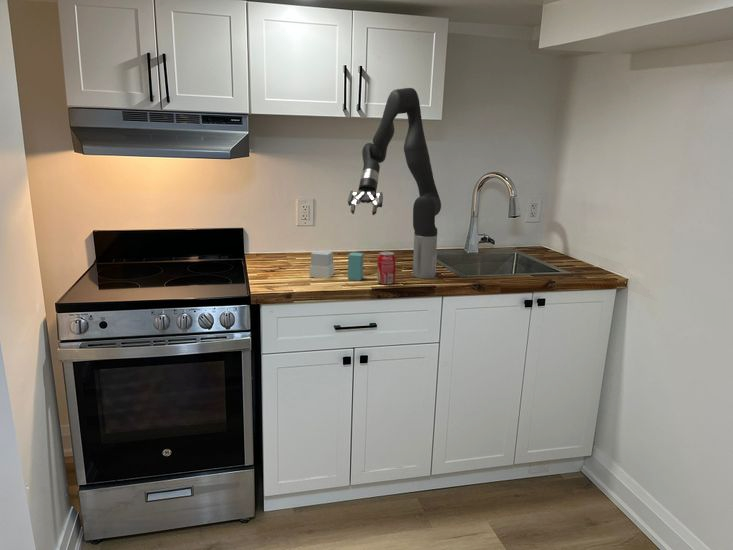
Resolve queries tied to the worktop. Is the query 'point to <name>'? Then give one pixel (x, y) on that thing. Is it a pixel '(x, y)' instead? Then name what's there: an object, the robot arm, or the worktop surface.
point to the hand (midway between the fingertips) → (363, 213)
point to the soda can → (386, 267)
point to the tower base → (321, 271)
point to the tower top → (321, 258)
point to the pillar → (355, 266)
